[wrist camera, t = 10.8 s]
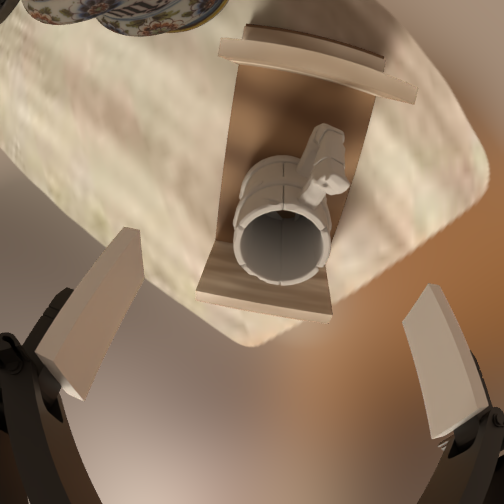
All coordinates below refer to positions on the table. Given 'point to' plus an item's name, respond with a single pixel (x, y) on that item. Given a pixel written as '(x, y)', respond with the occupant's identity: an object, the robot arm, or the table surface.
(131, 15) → the apothecary jar
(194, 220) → the table surface
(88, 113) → the table surface
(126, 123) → the table surface
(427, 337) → the robot arm
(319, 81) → the shelf
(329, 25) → the table surface
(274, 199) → the mug
